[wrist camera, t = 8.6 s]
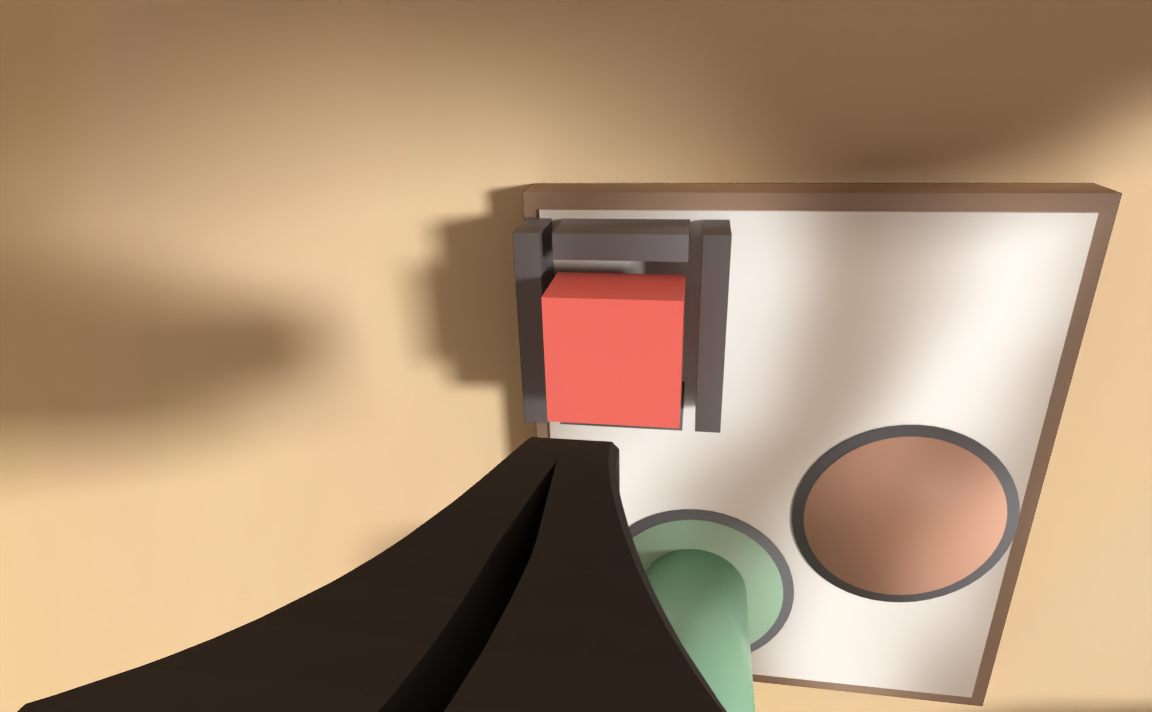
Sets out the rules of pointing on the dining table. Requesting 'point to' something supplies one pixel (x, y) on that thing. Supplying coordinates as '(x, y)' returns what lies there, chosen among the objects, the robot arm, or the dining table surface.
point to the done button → (614, 348)
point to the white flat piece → (843, 401)
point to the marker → (709, 620)
